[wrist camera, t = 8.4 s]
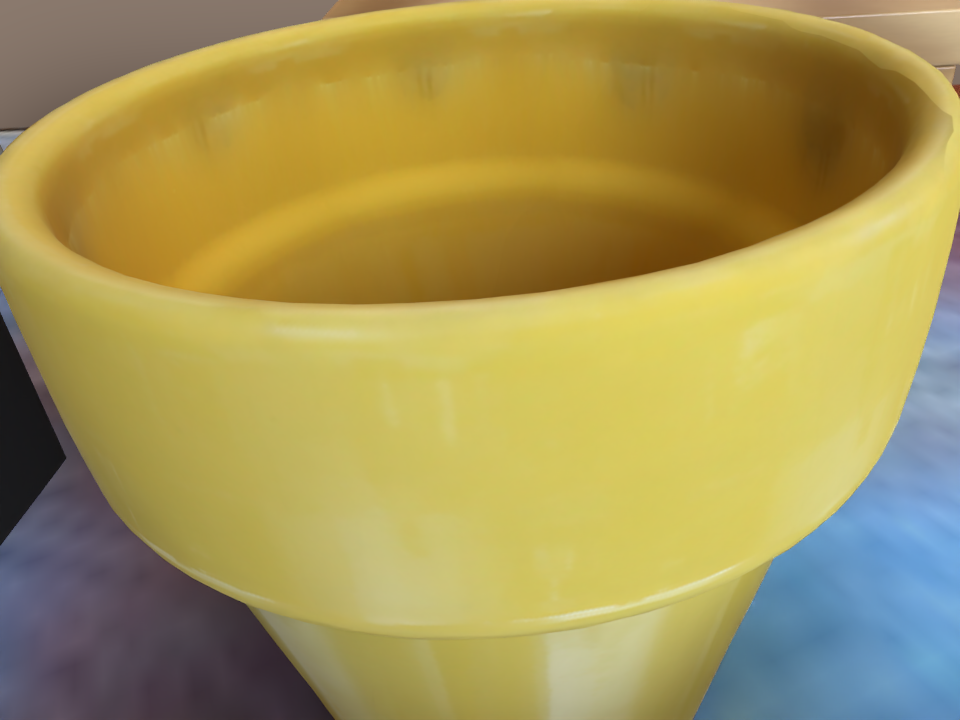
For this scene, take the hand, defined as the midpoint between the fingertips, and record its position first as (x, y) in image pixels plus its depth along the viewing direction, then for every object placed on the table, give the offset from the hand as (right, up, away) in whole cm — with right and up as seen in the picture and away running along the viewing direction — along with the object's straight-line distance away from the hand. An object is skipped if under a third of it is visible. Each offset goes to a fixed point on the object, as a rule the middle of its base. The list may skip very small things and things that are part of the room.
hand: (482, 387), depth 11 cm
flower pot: (0, -5, +4) cm, 6 cm away
